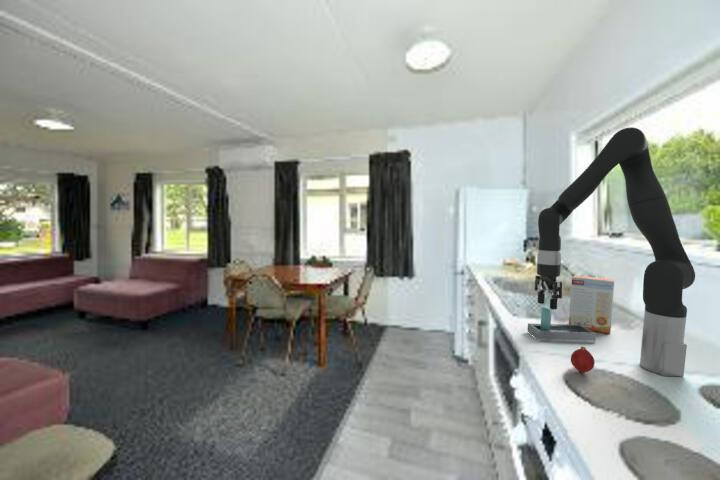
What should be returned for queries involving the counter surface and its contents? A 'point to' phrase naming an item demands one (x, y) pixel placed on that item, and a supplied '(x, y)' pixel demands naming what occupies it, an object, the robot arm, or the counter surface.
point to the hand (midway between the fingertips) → (546, 306)
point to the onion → (582, 360)
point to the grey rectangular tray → (562, 333)
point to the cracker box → (591, 303)
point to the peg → (545, 318)
